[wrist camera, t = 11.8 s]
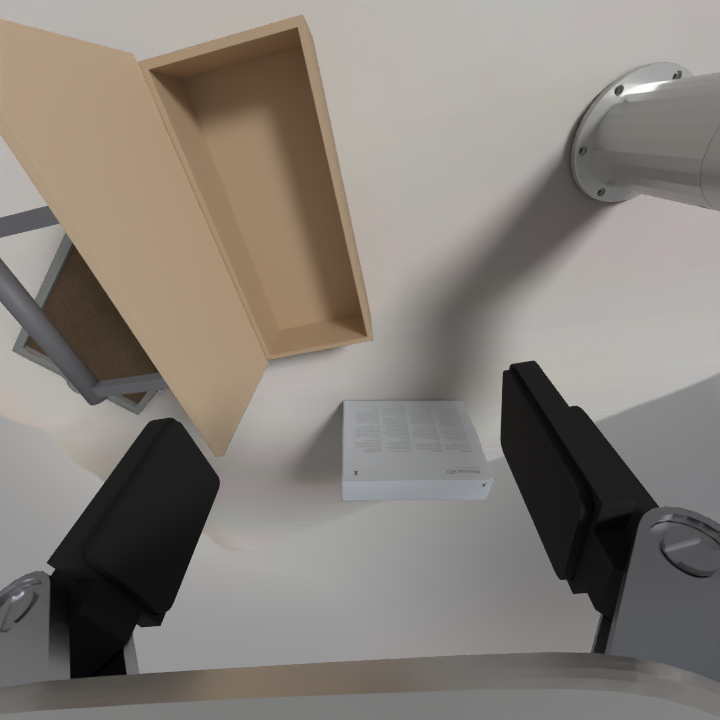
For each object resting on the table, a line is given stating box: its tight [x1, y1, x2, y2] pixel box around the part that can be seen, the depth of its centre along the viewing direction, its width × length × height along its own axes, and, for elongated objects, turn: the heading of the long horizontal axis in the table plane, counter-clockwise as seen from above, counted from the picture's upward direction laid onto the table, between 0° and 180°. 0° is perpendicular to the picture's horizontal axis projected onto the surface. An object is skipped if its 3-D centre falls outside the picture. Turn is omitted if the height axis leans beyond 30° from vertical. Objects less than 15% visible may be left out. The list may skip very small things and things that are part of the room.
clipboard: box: [12, 233, 159, 414], centre depth 50 cm, size 19×2×30 cm
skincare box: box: [341, 401, 495, 501], centre depth 54 cm, size 21×6×16 cm, turn 89°
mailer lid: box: [0, 19, 268, 457], centre depth 30 cm, size 15×31×9 cm
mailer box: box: [138, 15, 373, 360], centre depth 39 cm, size 14×30×8 cm, turn 12°
